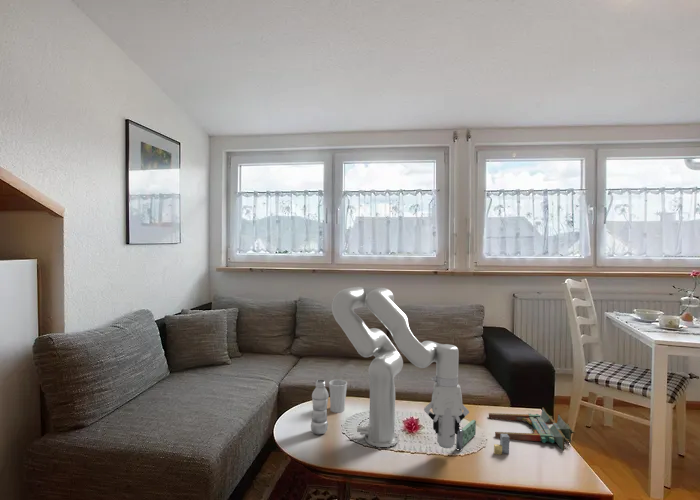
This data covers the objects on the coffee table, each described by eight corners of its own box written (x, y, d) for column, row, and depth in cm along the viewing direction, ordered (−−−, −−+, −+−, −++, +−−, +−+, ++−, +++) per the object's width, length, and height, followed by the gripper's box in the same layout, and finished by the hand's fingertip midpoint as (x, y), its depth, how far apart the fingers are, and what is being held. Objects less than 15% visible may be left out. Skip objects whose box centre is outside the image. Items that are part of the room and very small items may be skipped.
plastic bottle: (307, 432, 154) (308, 380, 154) (321, 427, 159) (322, 377, 158) (317, 438, 149) (318, 385, 149) (331, 433, 154) (332, 381, 154)
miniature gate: (487, 405, 176) (560, 407, 170) (487, 418, 176) (561, 420, 170) (497, 433, 150) (584, 437, 144) (497, 448, 150) (585, 452, 144)
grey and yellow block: (494, 454, 141) (495, 437, 141) (492, 449, 144) (492, 433, 144) (509, 455, 141) (510, 438, 141) (506, 450, 144) (507, 433, 144)
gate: (462, 446, 145) (463, 431, 145) (459, 445, 146) (460, 430, 146) (475, 434, 154) (475, 420, 154) (472, 433, 155) (472, 419, 155)
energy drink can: (454, 450, 135) (455, 406, 135) (436, 447, 137) (437, 404, 137) (455, 442, 141) (455, 400, 141) (437, 439, 143) (438, 397, 143)
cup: (338, 404, 181) (339, 378, 181) (350, 410, 175) (350, 383, 175) (324, 408, 176) (325, 382, 176) (335, 415, 170) (336, 387, 170)
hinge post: (456, 450, 143) (457, 431, 143) (455, 447, 145) (456, 428, 145) (462, 451, 143) (463, 431, 143) (461, 448, 145) (462, 428, 145)
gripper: (423, 383, 136) (422, 436, 136) (474, 385, 135) (473, 438, 135) (420, 376, 143) (419, 426, 143) (469, 378, 142) (468, 428, 142)
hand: (446, 431), depth 139 cm, fingers closed on energy drink can, 6 cm apart
